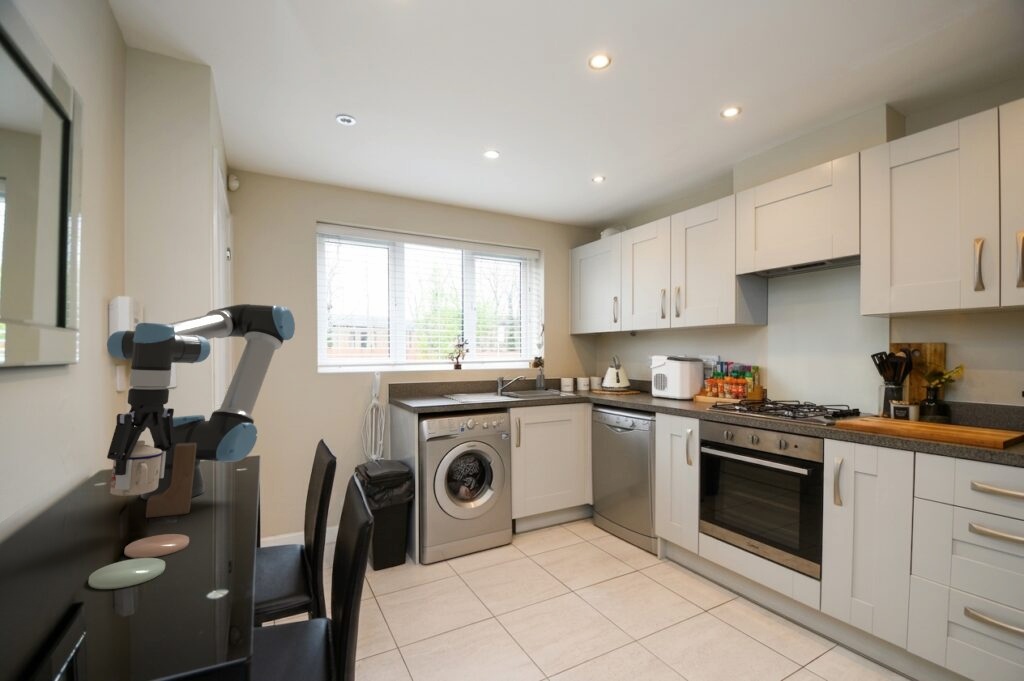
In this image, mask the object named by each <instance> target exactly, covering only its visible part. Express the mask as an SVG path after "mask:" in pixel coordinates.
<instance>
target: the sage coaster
mask: <svg viewBox="0 0 1024 681" xmlns="http://www.w3.org/2000/svg"><path fill="white" fill-rule="evenodd" d="M165 569H166V562H165V560H163V559H161V558H157V557H151V558H131V559H126V560H122V561H118V562H114V563H110V564H108V565H105V566H103V567H101V568H98V569H97V570H95V571H93V572H92V573H91V574H90V575H89V577H88V586H89V587H91V588H94V589H97V590H98V589H99V590H113V589H121V588H127V587H133V586H136V585H139V584H142V583H145V582H148V581H151V580H152V579H153V580H154V579H155V578H156V577H158V576H160V575H161V574H163V572H164V571H165Z"/></svg>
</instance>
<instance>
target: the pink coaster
mask: <svg viewBox="0 0 1024 681" xmlns="http://www.w3.org/2000/svg"><path fill="white" fill-rule="evenodd" d="M189 543H190V537H189V536H188V535H185V534H176V533H170V534H169V533H166V534H157V535H153V536H148V537H143V538H141V539H137V540H135V541H132V542H131V543H129V544H128V545H126V546H125V548H124V555H125V557H129V558H131V559H138V558H157V557H161V556H167V555H171V554H174V553H177V552H179V551H182V550H183V549H185V548H187V547H188V546H189Z"/></svg>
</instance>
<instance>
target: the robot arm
mask: <svg viewBox="0 0 1024 681" xmlns="http://www.w3.org/2000/svg"><path fill="white" fill-rule="evenodd" d="M293 315H294V314H293V313H292V311H291V310H290V309H289V308H288V307H286V306H279V305H275V304H274V305H266V304H264V305H263V304H250V303H249V304H247V303H245V304H244V303H241V304H235V305H231V306H230V305H229V306H225V307H221V308H218V309H217V308H216V309H213V310H210V311H209V312H207V313H206V314H204V315H200V316H197V317H193V318H188V319H183V320H180V321H176V322H175V321H174V322H172V323H168V324H167V323H165V324H164V323H154V322H140V323H138V324H136V326H135V330H133V331H131V330H127V329H126V330H118V331H115V332H113V333H112V334H111V335H110V336H109V337H108V339H107V342H106V346H107V348H106V349H107V352H108V354H109V355H110V356H111V357H112V358H114V359H119V360H125V361H131V366H130V376H129V386H130V387H131V388H130V389H128V393H127V394H128V395H127V403H128V404H129V406H130V409H129V411H128V412H127V413H118V414H117V415H116V425H115V429H114V432H113V436H112V439H111V442H110V446H109V448H108V451H107V456H106V458H107V459H108V460H112V461H114V460H115V461H116V467H115V468H116V469H115V475H116V482H115V489H123V490H127V489H130V480H131V469H132V460H129V458H130V456H131V454H132V452H133V449H134V447H135V445H136V443H137V441H139V439H140V437H141V435H142V433H143V432H145V431H146V429H149V432H150V435H151V438H152V442H153V448H157V449H161V450H162V453H163V454H162V455H161V462H160V472H159V482H158V488H157V489H156V490H154V491H152V492H149V493H144V494H140V498H141V499H142V500H144V501H148V499H149V497H150V496H152V495H157V494H161V493H164V492H165V491H166V490H167V489H169V487H170V485H171V479H172V469H173V460H174V450H175V446H176V445H177V444H178V443H196V444H197V446H196V456H195V466H194V476H193V485H192V495H191V498H193V497H196V496H199V495H201V494H203V493H204V492H205V486H206V484H205V481H204V477H203V472H202V468H201V461H205V462H206V461H207V462H209V461H210V462H221V463H229V462H230V463H234V462H235V463H236V462H240V461H242V460H243V459H245V458H246V457H248V455H250V454H251V452H252V451H253V449H254V448H255V445H256V442H257V440H258V435H257V434H258V429H257V427H256V425H255V424H254V423H255V419H254V417H253V416H252V413H253V410H254V407H255V405H256V402H257V399H258V397H259V394H260V392H261V389H262V386H263V383H264V380H265V379H266V378H265V377H266V375H267V372H268V369H269V367H270V364H271V361H272V359H273V356H274V353H275V351H276V350H279V349H280V348H281V347H282V346H283V343H284V341H288V340H291V339H292V338H293V337H294V334H295V330H296V324H295V318H294V316H293ZM230 337H236V338H237V337H238V338H244V340H245V341H246V345H245V347H244V350H243V351H242V353H241V357H240V359H239V361H238V363H237V367H236V369H235V370H234V374H233V376H232V379H231V382H229V383H230V384H229V386H228V387H227V388H228V389H227V391H226V393H225V396H224V399H223V400H222V403H221V406H220V408H218V409H216V410H214V411H212V413H211V415H210V417H209V420H206V417H205V415H203V414H196V415H195V414H193V415H184V416H182V415H181V416H175V417H174V414H175V412H174V411H175V410H174V408H167V407H165V406H164V405H166V404H168V403H169V395H170V394H169V393H170V390H169V388H167V387H169V386H171V376H172V363H175V364H179V363H180V364H186V363H187V364H196V363H201V362H204V361H205V360H206V359H208V357H209V355H210V354H211V345H210V341H209V340H211V339H214V338H216V339H224V338H230ZM115 453H116V454H115ZM124 453H125V454H124ZM123 454H124V455H123Z"/></svg>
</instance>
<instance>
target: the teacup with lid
mask: <svg viewBox="0 0 1024 681" xmlns="http://www.w3.org/2000/svg"><path fill="white" fill-rule="evenodd" d="M115 454H116V453H115ZM124 454H125V453H124ZM124 454H123V455H124ZM162 454H163V453H162V450H161V449H157V448H154V446H151V445H149V444H146V442H145V440H138V441H137V443H136V445H135V447H134V449H133V452H132V454H131V456H130V458H129V460H132V469H131V480H130V489H127V490H123V489H115V482H116V475H115V469H116V468H115V467H116V461H115V460H112V461H113V462H112V472H111V479H110V480H111V481H110V489H109V490H110V491H109V492H110V494H111V495H113V496H118V497H119V496H121V497H126V496H137V495H141V494H144V493H149V492H152V491H154V490H156V489H157V488H158V482H159V472H160V462H161V455H162Z"/></svg>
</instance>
